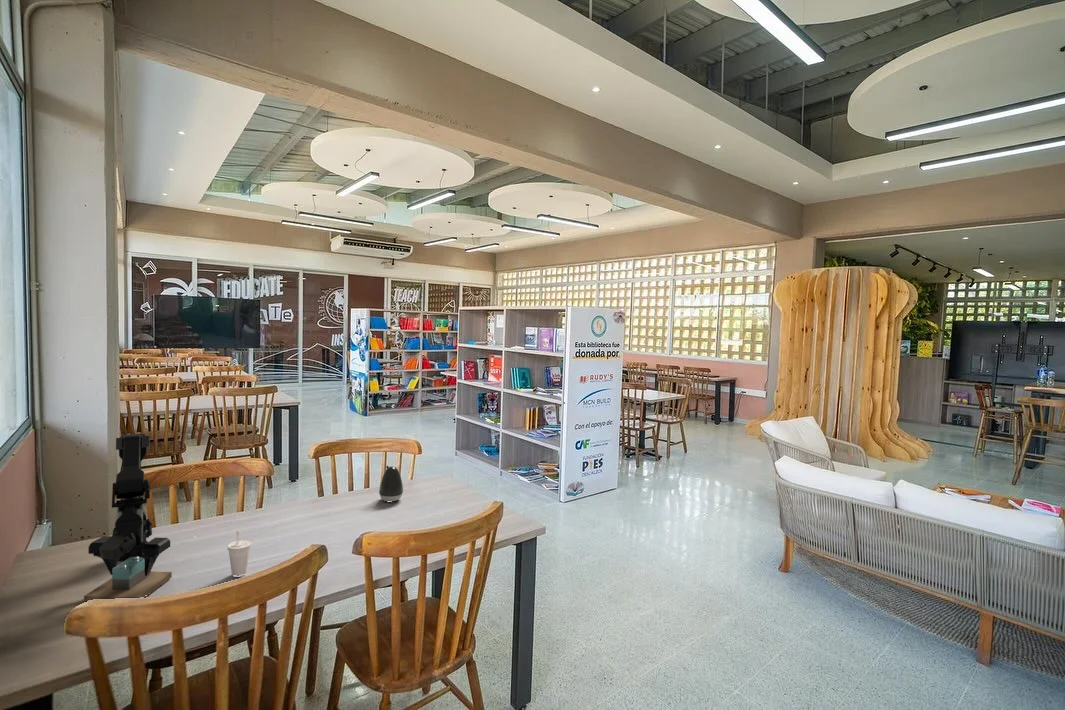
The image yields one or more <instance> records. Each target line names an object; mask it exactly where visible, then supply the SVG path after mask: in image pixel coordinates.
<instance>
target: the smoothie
mask: <svg viewBox="0 0 1065 710" xmlns="http://www.w3.org/2000/svg"><path fill="white" fill-rule="evenodd" d="M239 531H240V530H236V540H235V541H231V542H230V543H228V545H227V548H226V549H227V551H228V555H229V556H228V557H229V563H230V564H229V565H230V570H231V572H230V573H231V576H232V575H237V576H239V575H241V574H245V573H246V574H247V569H248V562H249V557H250V550H251V549H250V548H251V547H252V542H251V541H250V540H248V539H239V538H240V537H239V535H240V532H239ZM245 576H246V575H242V576H240V578H243V577H245Z"/></svg>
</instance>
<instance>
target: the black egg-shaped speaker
mask: <svg viewBox="0 0 1065 710" xmlns="http://www.w3.org/2000/svg"><path fill="white" fill-rule="evenodd" d="M385 467H386V470H385V471H384V472H383V475H382V477H381V481H380V485H379V487H378V488H379V489H378V494H379V496H380V499H381V500H382V501H383V500H384V501H383V502H385V501H396V500H398V501H399V500H400V499H401V498H402V496H403V494H404V485H403V480H402V476H401V473H400V470H398V468H397V467H396V466H393V465H392V466H389V465H386V466H385ZM396 502H397V501H396Z"/></svg>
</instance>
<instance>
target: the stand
mask: <svg viewBox="0 0 1065 710" xmlns="http://www.w3.org/2000/svg"><path fill="white" fill-rule="evenodd" d="M172 574H173V573H172V571H152V570H151V571H150V573H149V575H147V578H145V579H144V580H143V581H141V582H140V583H138V584H137V585H136V586H134V587H133V588H131V589H130V590H112V577H111V578H110V579H108V580H106V581H104V582H103V583H101V584H100V585H99V586H97V587H95V588H94V589H92V590H91V591H89V592H88V593H86V594H84V595H83V602H84V603H86V602H85V601H88V600H93V599H115V598H140V597H145V598H147V597H148V596H149V595H150V594H152V593H153V592H154V591H156V590H157V589H158V588H160V587H161V586H162V585H163V584H164V583H166V582H167V581H168V580H170V579H171V578H172V576H173V575H172ZM151 592H152V593H151ZM149 593H150V594H149ZM148 594H149V595H148ZM145 595H148V596H145Z"/></svg>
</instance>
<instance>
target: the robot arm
mask: <svg viewBox="0 0 1065 710" xmlns="http://www.w3.org/2000/svg"><path fill="white" fill-rule="evenodd" d="M150 438H151V435H146V433H135V434H134V433H130V434H121V435H120V437H116V438H115V450H116V451H118V457H119V458H120V459H121V460H122V466H121V468H122V469H121V471H119V472H118V473H117V474H116V476H115V477H116V478H115V479H116V480H115V482H113V483H112V492H111V493H112V494H111V508H112V509H115V508H116V510H117V511H116V518H115V522H114V528H113V530H112V533H111V535H110V536H109V535H103V536H101V537H99V538H97V539H95V540H94V541H92V542H90V543H89V545H88V547H87V548H88V550H87V552H88V553H87V554H89V555H92V556H93V557H96V558H100V559H101V560H102V561H103V563H104V564H105V566H106V568H107V570H108V572H109V574H110V576H112V568H114V567H116V566H117V565H118V561H120V562H121V561H122V562H123V561H125V560H127V559H128V558H130V557H137V556H138V557H143V558H144V559H145V576H147V575H149V573H150V571H152V569H153V566H154V565H155V563H156V561H157V559H158V557H159V556H160V554H162V553H163V552H164V551H166V550H168V549H169V548H170V547H171V540H170V538H169V537H158V536H157V537H154V538H152V539H151V540H149V541H148V540H147V538H148V539H149V538H150V537H151V536H152V535H153V534H152V533H153V525H152V524H153V523H152V522H151V520H150V518H147V512H146V510H145V509H144V505H145V504H147V503H148V499H150V498H151V497H150V494H151V492H150V491H151V483H150V481H149V480H148V479H147V478H145V471H143V470H142V461H143V460H144V459H145V456H147V453H148V448H149V449H150V446H151V444H150V442H151V440H150ZM143 496H144V497H143Z"/></svg>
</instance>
